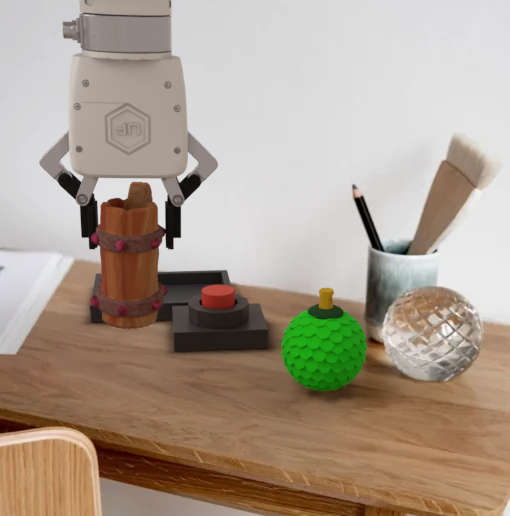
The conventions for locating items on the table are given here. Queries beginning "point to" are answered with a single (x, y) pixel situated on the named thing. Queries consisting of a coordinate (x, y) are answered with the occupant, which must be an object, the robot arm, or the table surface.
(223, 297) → the button
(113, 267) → the mug
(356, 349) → the ornament
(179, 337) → the panel
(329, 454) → the table surface
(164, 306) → the pan
